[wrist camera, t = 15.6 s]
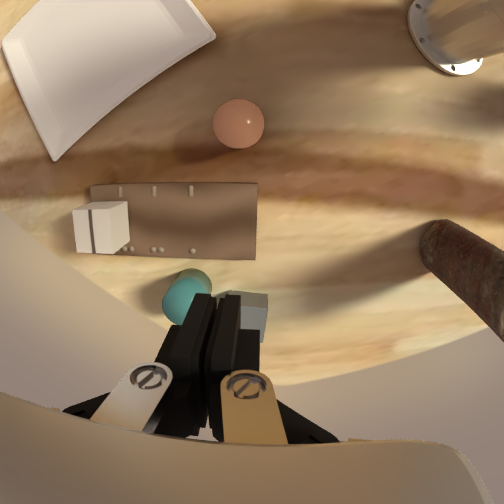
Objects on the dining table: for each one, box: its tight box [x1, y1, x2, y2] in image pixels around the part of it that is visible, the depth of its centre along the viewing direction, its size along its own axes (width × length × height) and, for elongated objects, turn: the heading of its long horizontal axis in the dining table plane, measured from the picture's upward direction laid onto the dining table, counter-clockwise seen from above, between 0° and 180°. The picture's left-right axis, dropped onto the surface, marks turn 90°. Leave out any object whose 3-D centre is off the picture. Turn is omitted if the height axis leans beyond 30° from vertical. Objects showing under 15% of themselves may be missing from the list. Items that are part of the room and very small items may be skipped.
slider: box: [72, 201, 130, 254], centre depth 34 cm, size 5×5×5 cm
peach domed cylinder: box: [213, 99, 264, 149], centre depth 32 cm, size 5×5×6 cm
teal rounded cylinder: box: [162, 268, 212, 325], centre depth 38 cm, size 5×5×6 cm
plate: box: [1, 0, 216, 161], centre depth 30 cm, size 26×26×2 cm
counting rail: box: [90, 182, 258, 260], centre depth 37 cm, size 9×21×2 cm, turn 89°
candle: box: [420, 219, 504, 342], centre depth 29 cm, size 8×7×20 cm
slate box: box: [228, 290, 268, 343], centre depth 40 cm, size 5×5×4 cm
